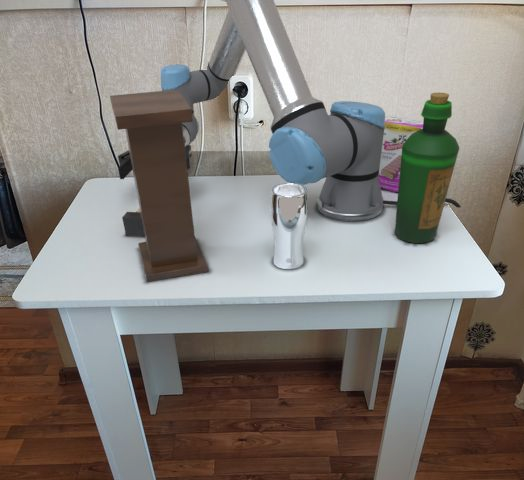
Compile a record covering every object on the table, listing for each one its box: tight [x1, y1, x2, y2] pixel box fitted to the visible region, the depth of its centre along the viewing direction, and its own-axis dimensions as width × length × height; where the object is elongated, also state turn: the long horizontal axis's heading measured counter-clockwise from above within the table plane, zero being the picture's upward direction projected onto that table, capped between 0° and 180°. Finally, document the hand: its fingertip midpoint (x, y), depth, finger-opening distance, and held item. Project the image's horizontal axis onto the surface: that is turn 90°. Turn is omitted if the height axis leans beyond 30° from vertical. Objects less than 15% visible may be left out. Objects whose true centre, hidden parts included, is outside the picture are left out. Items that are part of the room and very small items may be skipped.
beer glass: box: [270, 182, 309, 270], centre depth 99 cm, size 7×7×15 cm
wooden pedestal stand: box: [109, 90, 209, 283], centre depth 96 cm, size 14×12×30 cm
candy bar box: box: [378, 115, 423, 194], centre depth 126 cm, size 11×5×16 cm, turn 58°
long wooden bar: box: [121, 206, 145, 238], centre depth 121 cm, size 22×4×4 cm, turn 171°
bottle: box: [394, 91, 460, 244], centre depth 103 cm, size 11×11×28 cm
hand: (143, 174), depth 116 cm, fingers open, 10 cm apart
